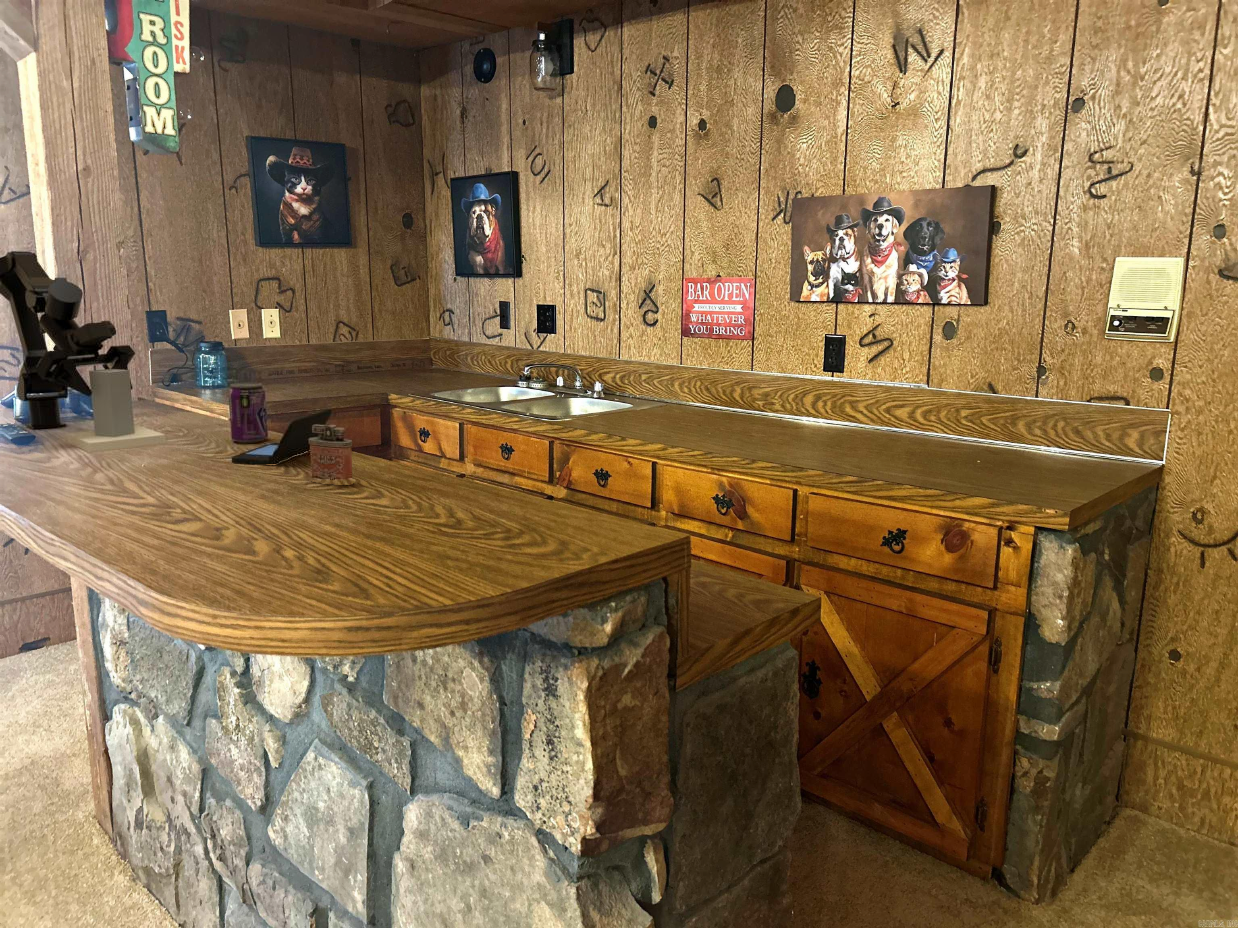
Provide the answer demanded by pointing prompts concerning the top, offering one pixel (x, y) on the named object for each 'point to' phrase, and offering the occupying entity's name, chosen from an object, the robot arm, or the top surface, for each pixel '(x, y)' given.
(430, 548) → the top surface
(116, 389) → the tall block
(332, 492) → the top surface
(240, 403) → the beverage can
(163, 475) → the top surface
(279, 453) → the game console
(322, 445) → the lighter
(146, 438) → the slab
